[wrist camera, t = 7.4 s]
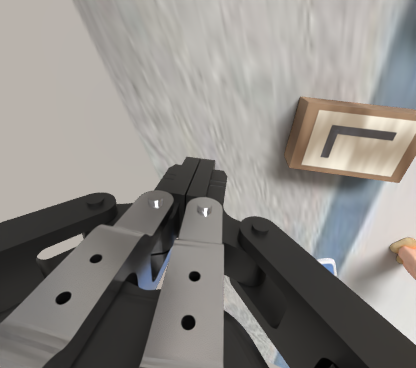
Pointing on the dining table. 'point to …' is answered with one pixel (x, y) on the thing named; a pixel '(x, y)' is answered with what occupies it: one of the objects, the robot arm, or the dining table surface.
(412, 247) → the grandmother figurine
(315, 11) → the dining table surface
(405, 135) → the marked cardboard box
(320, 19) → the dining table surface
